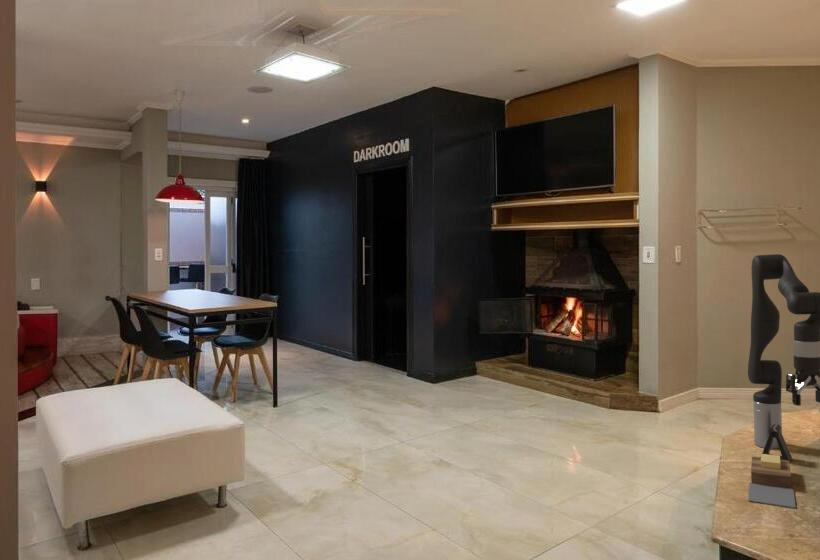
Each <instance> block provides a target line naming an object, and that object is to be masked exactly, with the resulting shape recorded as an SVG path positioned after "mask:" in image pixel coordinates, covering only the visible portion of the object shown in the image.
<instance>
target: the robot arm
mask: <svg viewBox="0 0 820 560" xmlns="http://www.w3.org/2000/svg"><path fill="white" fill-rule="evenodd" d="M765 280H766V281H769V280H778V282H777V289H778V291H779V292H780V294H781V295H782V296H783V298H785V301H786V306H787V310H788V311H789V312H790V313H791V314H793V315H796V316H797V315H800V316H802V315H809V317H808V318H807V319H804V320H801V321H797V322H795V323H794V324H793V351H792V352H793V367H794V369H795V372H794V373H789V372H788V373H786V376H785V377H786V380H785V391H786V392H789V393H791V394H792V395H791V396H792V399H791V401H792V404H793V405H795V406H797V407H800V406H801V404H802V401H801V400H802V398H801V397H802V396H801V395H802V394H801V393H802V391H803V390H805V388H806V387H809V386H813V387H814V388H815V390H814V391H815V402H817V403H820V292H817V291H815V292H814V291H811V292H810V290H809V288H808V287H807V286H806V285H805V284H804V283H803V282H802V281H801V280H800V279H799V278H798V276H797V275H796V272H795V271H794V269H793V267H792V265H791V263H790V262H789V260H788V259H787V257H785V256H784V255H783V254H780V253H779V254H778V253H775V254H772V253H771V254H759V255H755V256H754V257H753V258H752V260H751V290H752V292H751V293H752V300H751V312H750V313H751V314H750V346H749V354H748V355H749V358H748V363H747V365H748V366H747V377H748V380H749V382H750V383H752V385H753V384H754V385H768V386H767V387H766V388H764V389H762V390H759V391H756V392H753V395H752V396H753V397H752V398H753V399H752V401H753V428H754V429H753V431H754V432H753V434H754V435H753V436H754V437H753V438H754V439H753V440H754V445H756V446H757V447H759V448H763V449H764V448H765V445H766V443H767V441H768V438H769V435H770V434H769V430H770V428H771V427H772V425H773V424H775V426H774V427H773V429H774V430H775V431H776V432H777V430H776V429H775V428H776V427H777V425H778V424H779V425H780V426H781V433H782V434H783V423H782V422H783V420H782V417H783V416H782V415H783V414H782V381H783V380H782V379H783V373H782V372H783V371H782V370H783V369H782V365H781V364H780V363H781V362H779V360H776V359H762V356H763V353H764V352H765V349H767V347H768V345H769V344H770V343H772V341H773V340H774V338H775V337H776V335H778V333H779V330H780V315H781V314H780V311H779V309H778V307H777V306H776V304H775V303H774V301H773V300H772V299H771V298H770V296H769V294H768V293H767V290H766V288H765ZM771 449H774V450H775V449H776V450H777V449H779V446H778V443H777V440H776V438H773V442H772V445H771V448H770V450H771Z"/></svg>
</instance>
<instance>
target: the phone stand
mask: <svg viewBox="0 0 820 560" xmlns="http://www.w3.org/2000/svg"><path fill="white" fill-rule="evenodd" d="M774 426H775V424H773V425H772V427H771V428H770V430H769V434H770V435H769V438H768V441H767V443H766V445H765V448H763V451H762V452H761V454H768V455H774V454H772V453H770V452H771V449H770V448H771V445H772V442H773V438H776V440H777V443H778V446H779V448H778V449H779V451H780V454H781V455H780V454H779V455H777V454H776V455H777V456H780V460H787V461H789V462H791V460H792V459H793V457H792V455H791V452H790V450H789V448H788V445H787V443H786V440H785V438H784V436H783V432H782V433H781V426H780V425H779V424H778V425H777V427H776V428H775V429H776V430H777V432H776V431H775V430H774V429H773V427H774ZM760 458H761V456H760Z"/></svg>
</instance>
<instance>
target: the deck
mask: <svg viewBox="0 0 820 560" xmlns="http://www.w3.org/2000/svg"><path fill="white" fill-rule="evenodd" d="M760 457H761V456H760ZM760 457H759V456H751V466H750V467H751V470H750V472H751V475H750V476H751V480H750V481H751V482H750V483H754V484H761V485H768V486H776V487H783V488H791V489H793V488H792V471H791V464H790V462H791V461H790V462H789V461H787V460H780V467H781V469H773V468H765V467H761V458H760Z"/></svg>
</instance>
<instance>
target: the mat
mask: <svg viewBox="0 0 820 560" xmlns="http://www.w3.org/2000/svg"><path fill="white" fill-rule="evenodd" d="M748 485H749V486H748V488H749V489H748V502H749V501H754V502H753V503H755V502H759V503H758V504H761V503H764V504H763V505H768V504H769V506H775V507H776V506H777V507H783V508H788V509H796V507H797V506H796V499H795V493H794V492H795V491H794V488H792V489H791V488H783V487H776V486H768V485H761V484H754V483H751V482H749V484H748Z"/></svg>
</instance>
